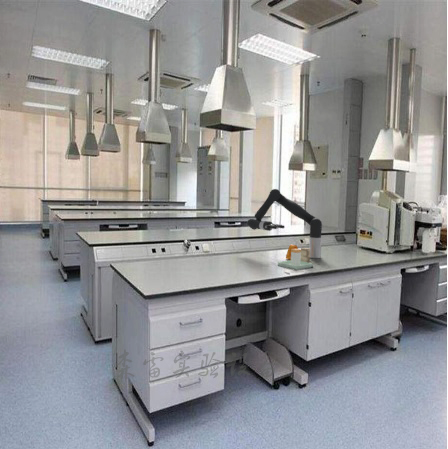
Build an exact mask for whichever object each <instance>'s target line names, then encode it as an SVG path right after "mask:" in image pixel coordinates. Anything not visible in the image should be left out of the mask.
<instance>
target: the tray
mask: <svg viewBox="0 0 448 449" xmlns="http://www.w3.org/2000/svg"><path fill="white" fill-rule="evenodd" d="M277 266H278V267H283V268H284V269H285V268H286V269H289V270H290V269H291V270H293V269H294V271H298V270H299V269H300V270H306V269H311V267H312V268H314V263H312V262H310V263H308V262H303V261H301V262H300V265H299V266H294V265H291V260H290V259H288V260H283V261H278V262H277ZM305 268H306V269H305Z"/></svg>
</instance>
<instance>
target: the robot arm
mask: <svg viewBox="0 0 448 449" xmlns="http://www.w3.org/2000/svg"><path fill="white" fill-rule="evenodd" d="M275 202H276V203H278V204H279V205H280V206H282V207H283V208H284V209H285V210H287V211H288V212H289V213H290V214H292V215H293V216H295V217H297V218H298V219H301V220H303V221H304V222H305V223H306V224H308V225H309V228H310V229H309V244H308V245H309V246H308V248H309V249H310V259H320V258H322V243H321V242H322V231H323V230H322V229H323V228H322V227H323V223H322V221H321V219H320V218H318V217H315V216H314V215H313V214H311V213H310V212H308V211H307V210H306V209H305V208H303V207H302V206H301V205H300V204H298V203H297V202H296V201H293V200H291V199H289V198H287V197H286V196H284V195H283V194H282V193H281V192H280V189H278V188H273V189H271V190H270V192H269V194H268V196H267V198H266V200H265V201H264V202H263V203H262V205H261V206H260V207H259V208H258V210H256V212H255V214H254V218H255V219H254V218H249V219H248V220H247V222H246V224H247V226H248V227H249V228H250V229H252V230H253V231H255V230H262V231H272V230H277V229H285V225H283V224H277V223H273V222H272V221H268V220H267V221H266V220H263V218H264V217H265V216H266V214H267V213H268V211H269V209H270V208H271V206H272V205H273V204H274V203H275Z"/></svg>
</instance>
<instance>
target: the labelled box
mask: <svg viewBox="0 0 448 449" xmlns="http://www.w3.org/2000/svg"><path fill="white" fill-rule="evenodd" d="M300 262H301V248H298V249H291V265H294V266H299V265H300Z"/></svg>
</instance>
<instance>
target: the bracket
mask: <svg viewBox="0 0 448 449" xmlns="http://www.w3.org/2000/svg"><path fill="white" fill-rule="evenodd" d="M291 249H299V248H298V246H297V245H295V244H290V245H288V249H287V252H286V254H285V259H286V260H287V259H288V260H291Z"/></svg>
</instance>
